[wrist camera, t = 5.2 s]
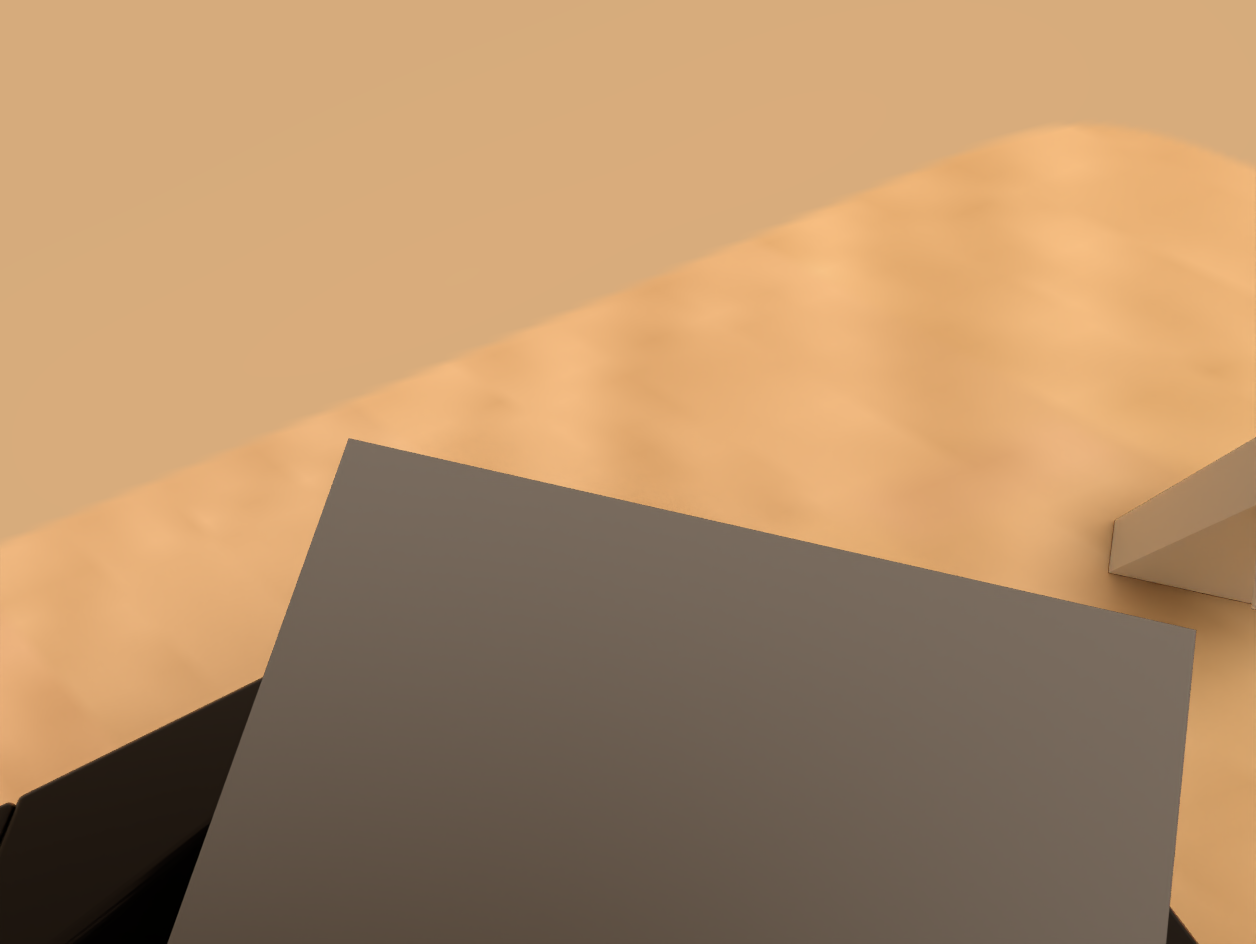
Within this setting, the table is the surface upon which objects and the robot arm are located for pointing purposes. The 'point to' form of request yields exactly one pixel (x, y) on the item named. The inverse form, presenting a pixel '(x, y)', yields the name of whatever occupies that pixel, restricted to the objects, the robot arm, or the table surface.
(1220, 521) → the rails
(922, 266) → the table surface
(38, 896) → the robot arm
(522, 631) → the grey tall block
